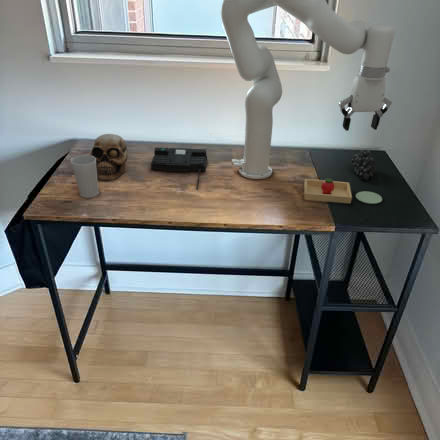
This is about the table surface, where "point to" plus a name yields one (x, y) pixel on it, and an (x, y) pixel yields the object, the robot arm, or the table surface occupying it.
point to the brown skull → (109, 156)
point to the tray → (337, 195)
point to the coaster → (368, 197)
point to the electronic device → (180, 160)
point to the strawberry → (327, 186)
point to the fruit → (364, 164)
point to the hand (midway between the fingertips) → (359, 128)
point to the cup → (86, 175)
